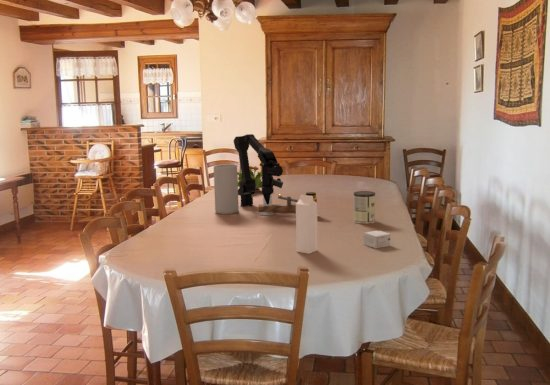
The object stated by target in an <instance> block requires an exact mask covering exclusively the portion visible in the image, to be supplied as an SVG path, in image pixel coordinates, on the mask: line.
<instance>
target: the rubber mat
mask: <svg viewBox="0 0 550 385" xmlns="http://www.w3.org/2000/svg"><path fill="white" fill-rule="evenodd" d="M259 216H260V217H261V216H263V217H264V216H274V212H259Z"/></svg>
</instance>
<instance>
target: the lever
mask: <svg viewBox="0 0 550 385" xmlns="http://www.w3.org/2000/svg"><path fill="white" fill-rule="evenodd" d="M277 199H279V200H284V201H287V197H285V196H283V195H282V194H278V196H277ZM298 201H299V199H296V198H292V197H291V202H293V203H294V202H295V203H297V202H298Z"/></svg>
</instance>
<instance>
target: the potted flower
mask: <svg viewBox="0 0 550 385" xmlns="http://www.w3.org/2000/svg"><path fill="white" fill-rule="evenodd" d="M249 167H250V174H251V177H252V179H255V184H256V189H255V193H257V192H260V191H261V189H262V170H261V171H258V170H259V167H257V166H255V165H254V166H252V165H249ZM256 172H257V174H256ZM237 173H238V188H240V182H241V179H242V173H241V172H239V171H237Z"/></svg>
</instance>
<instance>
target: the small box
mask: <svg viewBox="0 0 550 385" xmlns="http://www.w3.org/2000/svg"><path fill="white" fill-rule="evenodd" d="M362 240H363V243H362V245H363V244H364V246H366V247H370V248H372V247H373V249H380V248H385V247H391V233H389V232H385V231H382V230H379V229H378V230H373V231H372V230H371V231H365V232H363V239H362Z"/></svg>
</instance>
